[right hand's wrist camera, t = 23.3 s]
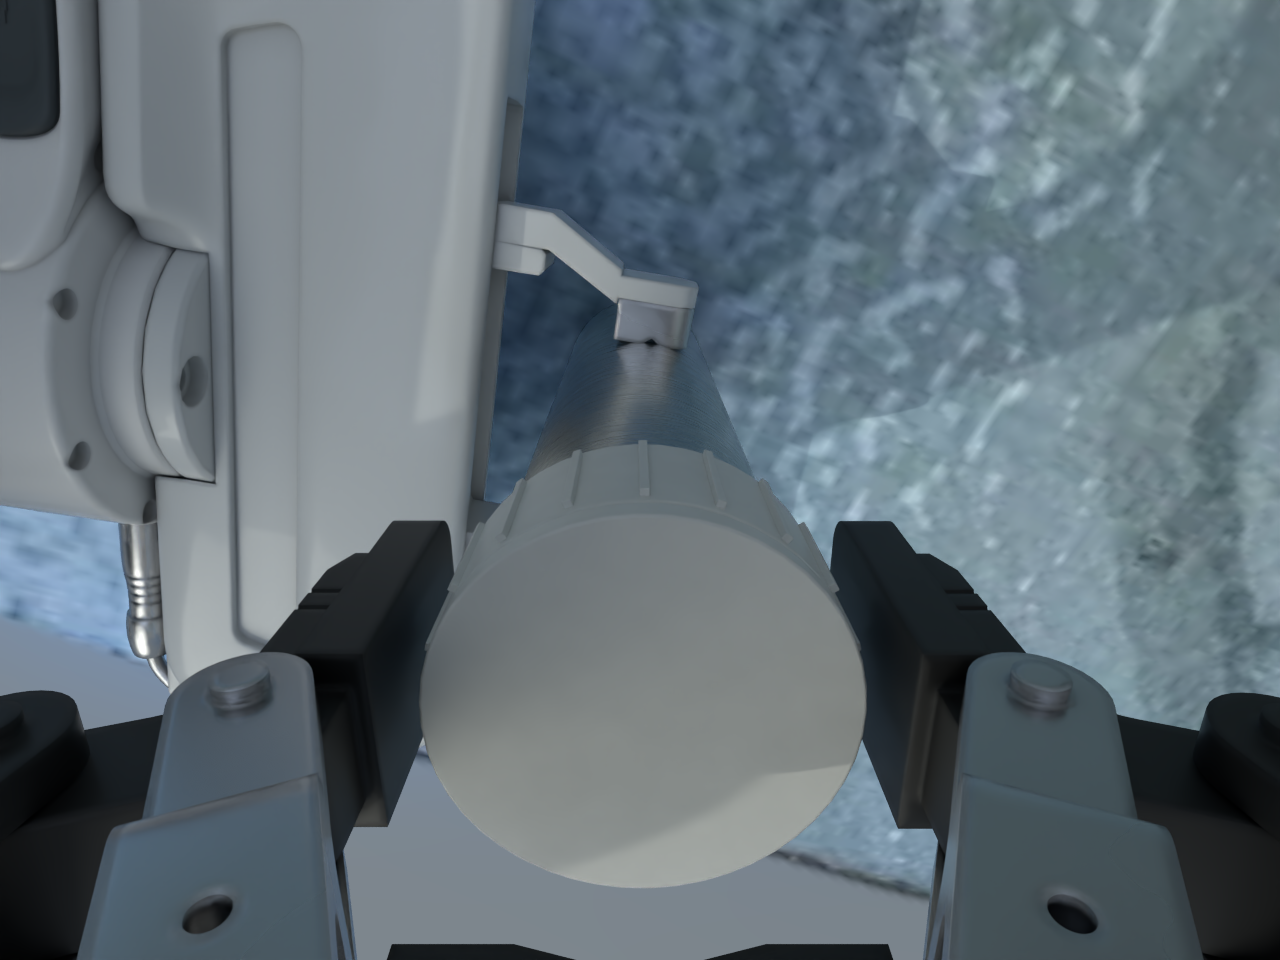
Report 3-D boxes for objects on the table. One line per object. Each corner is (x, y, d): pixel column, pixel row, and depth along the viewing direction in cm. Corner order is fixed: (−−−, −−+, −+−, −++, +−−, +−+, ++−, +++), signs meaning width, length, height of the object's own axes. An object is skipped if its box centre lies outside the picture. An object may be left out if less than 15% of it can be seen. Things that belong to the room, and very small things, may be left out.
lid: (902, 604, 11) (971, 710, 9) (649, 816, 12) (653, 957, 10) (632, 355, 9) (631, 405, 7) (382, 623, 11) (319, 733, 9)
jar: (655, 273, 24) (698, 438, 8) (726, 384, 26) (884, 715, 10) (545, 349, 25) (389, 633, 9) (619, 452, 27) (598, 864, 10)
